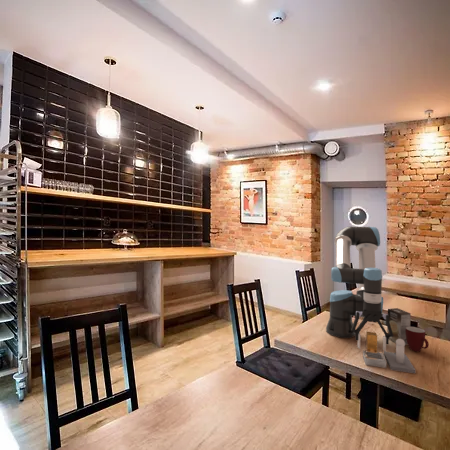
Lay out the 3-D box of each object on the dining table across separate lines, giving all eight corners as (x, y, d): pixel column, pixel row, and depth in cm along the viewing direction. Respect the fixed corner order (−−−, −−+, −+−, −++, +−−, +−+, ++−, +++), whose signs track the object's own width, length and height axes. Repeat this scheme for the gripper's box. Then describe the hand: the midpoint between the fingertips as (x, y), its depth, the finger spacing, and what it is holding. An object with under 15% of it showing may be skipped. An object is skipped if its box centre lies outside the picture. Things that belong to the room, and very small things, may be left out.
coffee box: (386, 338, 155) (386, 308, 155) (396, 337, 157) (396, 307, 157) (400, 345, 146) (400, 313, 146) (410, 344, 148) (411, 313, 148)
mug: (434, 354, 137) (434, 332, 137) (423, 357, 134) (424, 335, 134) (411, 345, 147) (412, 325, 147) (401, 348, 143) (401, 327, 143)
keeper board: (383, 354, 136) (383, 329, 136) (405, 357, 133) (405, 332, 133) (390, 369, 122) (391, 342, 122) (415, 373, 119) (416, 345, 119)
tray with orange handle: (361, 351, 139) (361, 330, 138) (380, 354, 136) (380, 333, 136) (365, 364, 126) (365, 341, 126) (386, 368, 123) (386, 344, 123)
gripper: (346, 301, 135) (345, 348, 135) (402, 306, 128) (401, 356, 128) (345, 297, 142) (344, 342, 142) (397, 301, 135) (397, 349, 135)
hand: (371, 349), depth 135 cm, fingers open, 10 cm apart
